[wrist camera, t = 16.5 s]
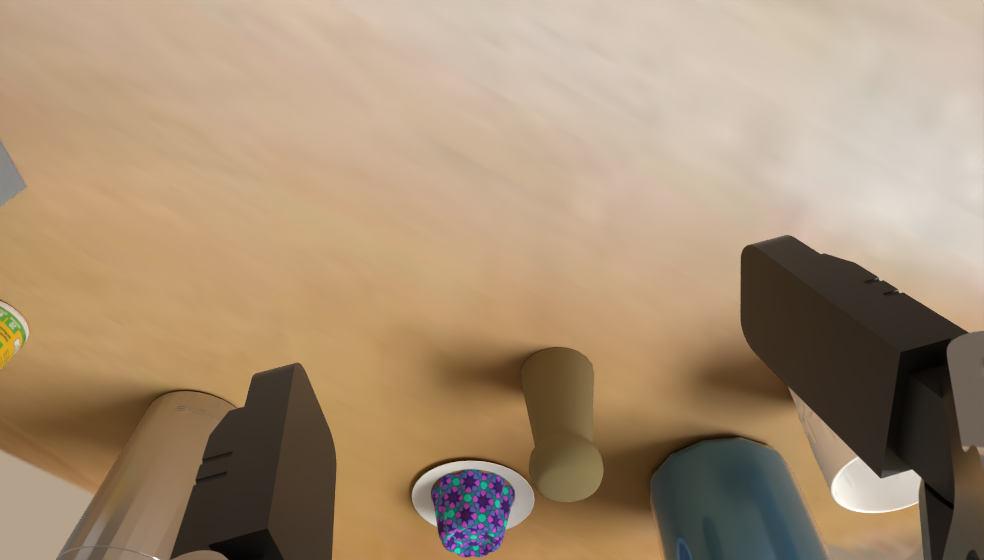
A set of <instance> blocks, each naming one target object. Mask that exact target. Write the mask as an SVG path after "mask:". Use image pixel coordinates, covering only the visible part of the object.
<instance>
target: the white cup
mask: <svg viewBox="0 0 984 560" xmlns="http://www.w3.org/2000/svg"><path fill="white" fill-rule="evenodd" d="M788 388H789V387H788ZM789 391H790V394H791V396H792V399H793V401H794V403H795V406H796V408H797V411H798V417H799V419H800V422H801V424H802V426H803V429H804V432H805V434H806V436H807V438H808V441H809V444H810V447H811V449H812V451H813V454H814V456H815V458H816V460H817V463H818V465H819V467H820V470H821V472H822V474H823V477H824V479H825V481H826V484H827V486H828V488H829V491H830V493H831V495H832V497H833V499H834V500H835V501H836V502H837V503H838V504H839V505H840V506H842V507H844V508H846V509H849V510H852V511H856V512H863V513H881V512H889V511H894V510H899V509H902V508H906V507H909V506H912V505H914V504H916V503H919V497H918V494H919V486H920V481H921V477H920V476H919V475H918V474H917V473H915V472H914V471H913V470H909V471H905V472H902V473H899V474H895V475H892V476H889V477H885V478H882V479H880V478H879V477H878V476H877V475H876V474H875V473H874V472H873V471H872V470H871V469H870V468H869V467H868V466H867V465H866V464H865V463H864V462H863V461H862V460H861V459H860V458H859V457H858V456H857V455H856V454H855V453H854V452H853V451H852V450H851V449H850V448H849V447H848V446H847V445H846V444H845V443H844V442H843V441H842V440H841V439H840V438H839V437H838V436H837V435H836V434H835V433H834V432H833V431H832V430H831V429H830V428H829V427H828V426H827V425H826V424H825V423H824V422H823V421H822V420H821V419H820V418H819V417H818V416H817V415H816V414H815V413H814V412H813V411H812V410H811V409H810V408H809V407H808V406H807V405H806V404H805V403H804V402H803V401H802V400H801V399H800V398H799V397H798V396H797V395H796V394H795V393H794V392H793V391H792V390H791V389H790V388H789Z"/></svg>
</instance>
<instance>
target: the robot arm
mask: <svg viewBox="0 0 984 560" xmlns="http://www.w3.org/2000/svg"><path fill="white" fill-rule="evenodd" d="M741 326H742V330H743V333H744V336H745V338H746V340H747V343H748V344H749V346H750V347H751V349H752V350H753V351H754V352H755V354H756V355H757V356H758V357H759V358H760V359H761V360H762V361H763V362H764V363H765V364H766V365H767V366H768V367H769V368H770V369H771V370H772V371H773V372H774V373H775V374H776V375H777V376H778V377H779V378H780V379H781V380H782V381H783V382H784V383H785V384H786V385H787V386H788V387H789V388H790V389H791V390H792V391H793V392H794V393H795V394H796V395H797V396H798V397H799V398H800V399H801V400H802V401H803V402H804V403H805V404H806V405H807V406H808V407H809V408H810V409H811V410H812V411H813V412H814V413H815V414H816V415H817V416H818V417H819V418H820V419H821V420H822V421H823V422H824V423H825V424H826V425H827V426H828V427H829V428H830V429H831V430H832V431H833V432H834V433H835V434H836V435H837V436H838V437H839V438H840V439H841V440H842V441H843V442H844V443H845V444H846V445H847V446H848V447H849V448H850V449H851V450H852V451H853V452H854V453H855V454H856V455H857V456H858V457H859V458H860V459H861V460H862V461H863V462H864V463H865V464H866V465H867V466H868V467H869V468H870V469H871V470H872V471H873V472H874V473H875V474H876V475H877V476H878V477H879V478H880V479H882V478H885V477H889V476H892V475H895V474H899V473H902V472H905V471H909V470H913V471H914V472H915V473H917V474H918V475H919V476H920V477H921V481H920V486H919V494H918V497H919V509H920V521H921V532H922V544H923V555H924V560H984V331H978V332H971V333H968V332H967V331H965V330H963V329H962V328H960V327H959V326H957V325H955V324H954V323H952V322H950V321H949V320H947V319H946V318H944V317H942V316H941V315H939V314H937V313H936V312H934V311H933V310H931V309H929V308H928V307H926V306H924V305H923V304H921V303H919V302H918V301H916V300H915V299H913V298H911V297H910V296H908V295H906V294H905V293H899V292H898V289H897V288H895V287H893V286H892V285H890V284H889V283H887V282H885V281H884V280H883V281H880V280H879V277H877V276H876V275H874V274H872V273H871V272H869V271H867V270H866V269H864V268H863V267H861V266H859V265H858V264H856V263H854V262H850V261H847V260H844V259H840V258H837V257H834V256H831V255H827V254H819V253H818V252H816V251H815V250H813V249H811V248H810V247H808V246H807V245H805V244H804V243H802V242H801V241H799V240H797V239H796V238H794V237H792V236H789V235H785V236H781V237H777V238H774V239H770V240H766V241H762V242H758V243H755V244H751V245H748V246H746V247H745V248H744V249H743V251H742V254H741ZM335 484H336V453H335V447H334V442H333V439H332V435H331V432H330V429H329V427H328V424H327V422H326V419H325V417H324V415H323V412H322V410H321V407H320V405H319V403H318V400H317V398H316V395H315V393H314V391H313V388H312V386H311V384H310V381H309V379H308V376H307V374H306V372H305V370H304V368H303V367H302V365H301V364H300V363H294V364H290V365H286V366H283V367H279V368H275V369H271V370H267V371H264V372H260V373H256V374H254V375H253V377H252V380H251V384H250V387H249V391H248V395H247V399H246V403H245V406H244V407H242V408H238V409H237V408H235V407H234V406H233V405H231V404H229V403H227V402H226V401H224V400H222V399H219V398H217V397H214V396H212V395H208V394H204V393H200V392H191V391H178V392H172V393H167V394H165V395H163V396H160V397H158V398H157V399H156V400H154V401H153V402H152V403H151V405H150V406H149V408H148V409H147V411H146V413H145V414H144V416H143V418H142V419H141V421H140V422H139V424H138V426H137V427H136V429H135V431H134V432H133V434H132V435H131V437H130V439H129V440H128V442H127V443H126V445H125V447H124V448H123V450H122V451H121V453H120V455H119V456H118V458H117V460H116V461H115V463H114V465H113V466H112V468H111V470H110V471H109V473H108V474H107V476H106V478H105V479H104V481H103V483H102V484H101V486H100V488H99V489H98V491H97V493H96V494H95V496H94V497H93V499H92V501H91V503H90V504H89V506H88V507H87V509H86V511H85V512H84V514H83V516H82V517H81V519H80V521H79V522H78V524H77V525H76V527H75V529H74V530H73V532H72V534H71V535H70V537H69V539H68V540H67V542H66V544H65V545H64V547H63V549H62V550H61V552H60V554H59V555H58V557H57V558H56V560H332V542H333V523H334V503H335Z"/></svg>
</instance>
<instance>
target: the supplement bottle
mask: <svg viewBox="0 0 984 560" xmlns="http://www.w3.org/2000/svg"><path fill="white" fill-rule="evenodd" d="M28 336H29V329H28V325H27V323H26V321H25V319H24V318H23V317H22V315H21V314H20V313H19V312H18V311H17V310H15V309H14V308H13V307H11V306H10V305H8V304H6V303H4V302H2V301H0V370H1V369H2V368H3V367H4V365H5V364H6V363H7V362H8V361H9V360H10V359H11V358H12V357H13V356H14V355H15V354H16V353H17V352H18V350H19V349H20V348H21V347H22V346H23V345H24V344H25V342H26V341H27V339H28Z"/></svg>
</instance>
